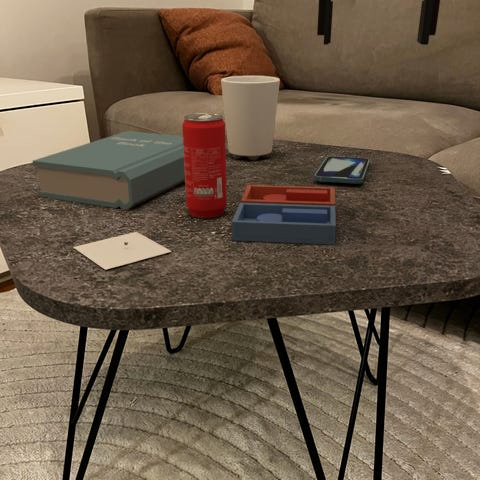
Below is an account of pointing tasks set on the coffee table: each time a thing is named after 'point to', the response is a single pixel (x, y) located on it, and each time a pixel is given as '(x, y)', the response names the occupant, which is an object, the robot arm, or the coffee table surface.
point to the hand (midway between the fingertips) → (374, 43)
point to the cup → (250, 114)
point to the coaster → (121, 250)
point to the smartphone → (342, 170)
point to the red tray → (259, 191)
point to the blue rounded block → (296, 216)
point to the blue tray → (281, 225)
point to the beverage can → (205, 164)
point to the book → (114, 170)
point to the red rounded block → (299, 195)
